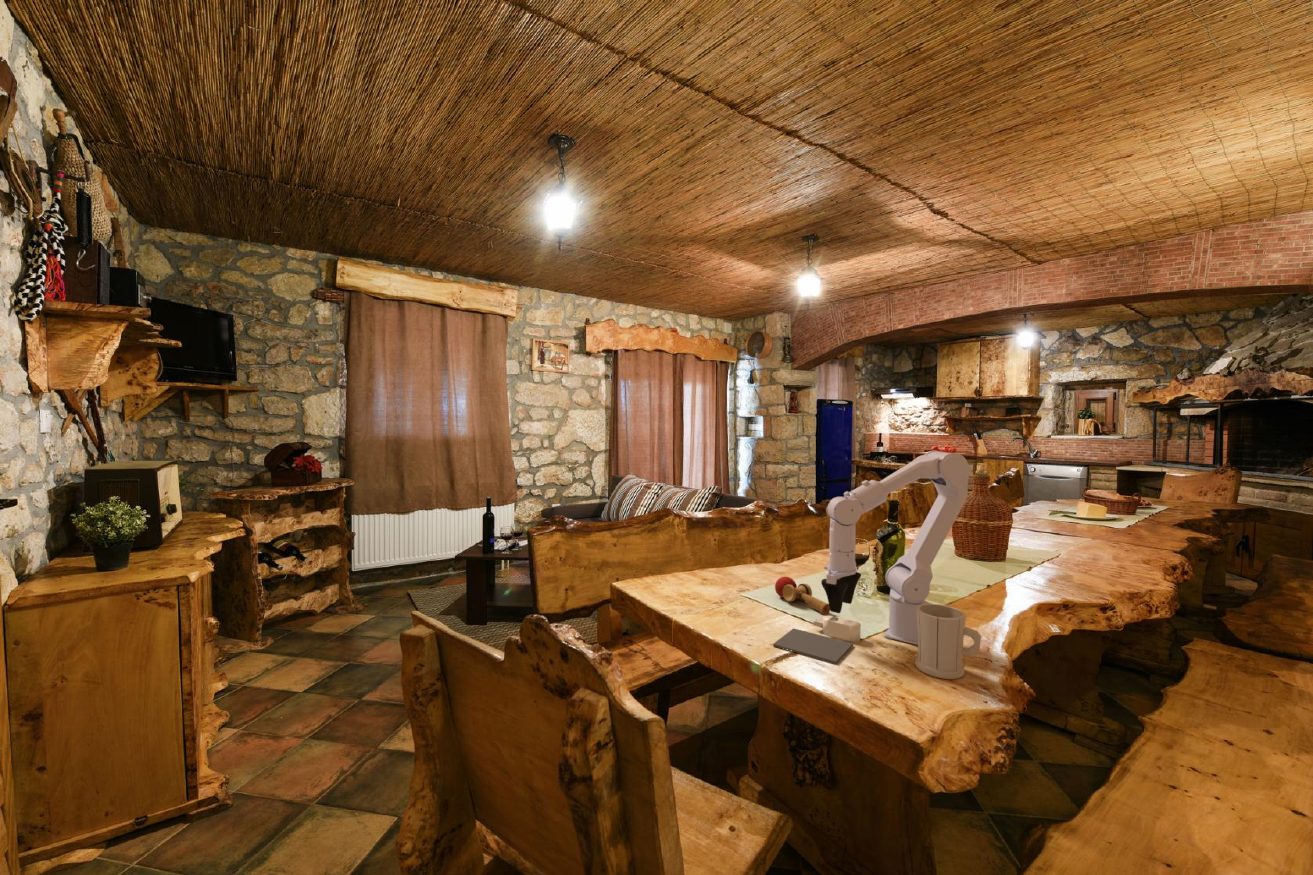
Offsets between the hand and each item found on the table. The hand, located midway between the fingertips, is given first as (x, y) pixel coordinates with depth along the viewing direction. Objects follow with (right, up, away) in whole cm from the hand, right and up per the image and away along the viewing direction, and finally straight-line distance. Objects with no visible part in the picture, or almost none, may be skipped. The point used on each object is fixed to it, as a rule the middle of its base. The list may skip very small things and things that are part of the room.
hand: (841, 607), depth 124 cm
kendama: (-3, -6, +21) cm, 23 cm away
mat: (-8, -7, -5) cm, 12 cm away
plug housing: (0, -7, 0) cm, 7 cm away
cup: (+15, -8, -16) cm, 23 cm away
